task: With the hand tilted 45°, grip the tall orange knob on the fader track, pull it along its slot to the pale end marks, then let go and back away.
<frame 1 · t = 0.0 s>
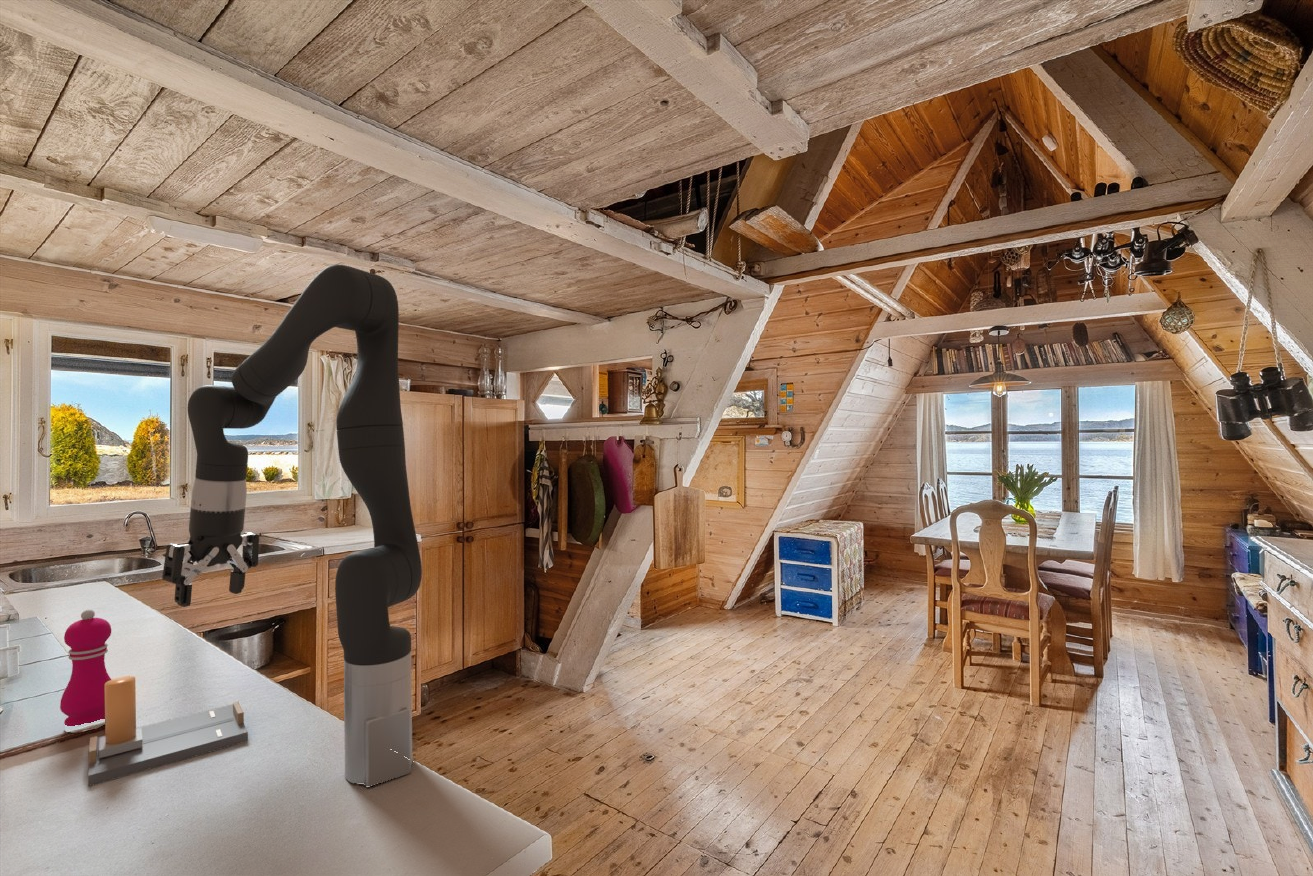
hand: (210, 598, 104), 22 cm above the countertop, tool pointing down, fingers open, 8 cm apart
fader: (120, 713, 96), point 7 cm above the countertop, slide at 0.0 cm
fader track: (170, 744, 100), on the countertop
pepper mill: (89, 726, 107), on the countertop
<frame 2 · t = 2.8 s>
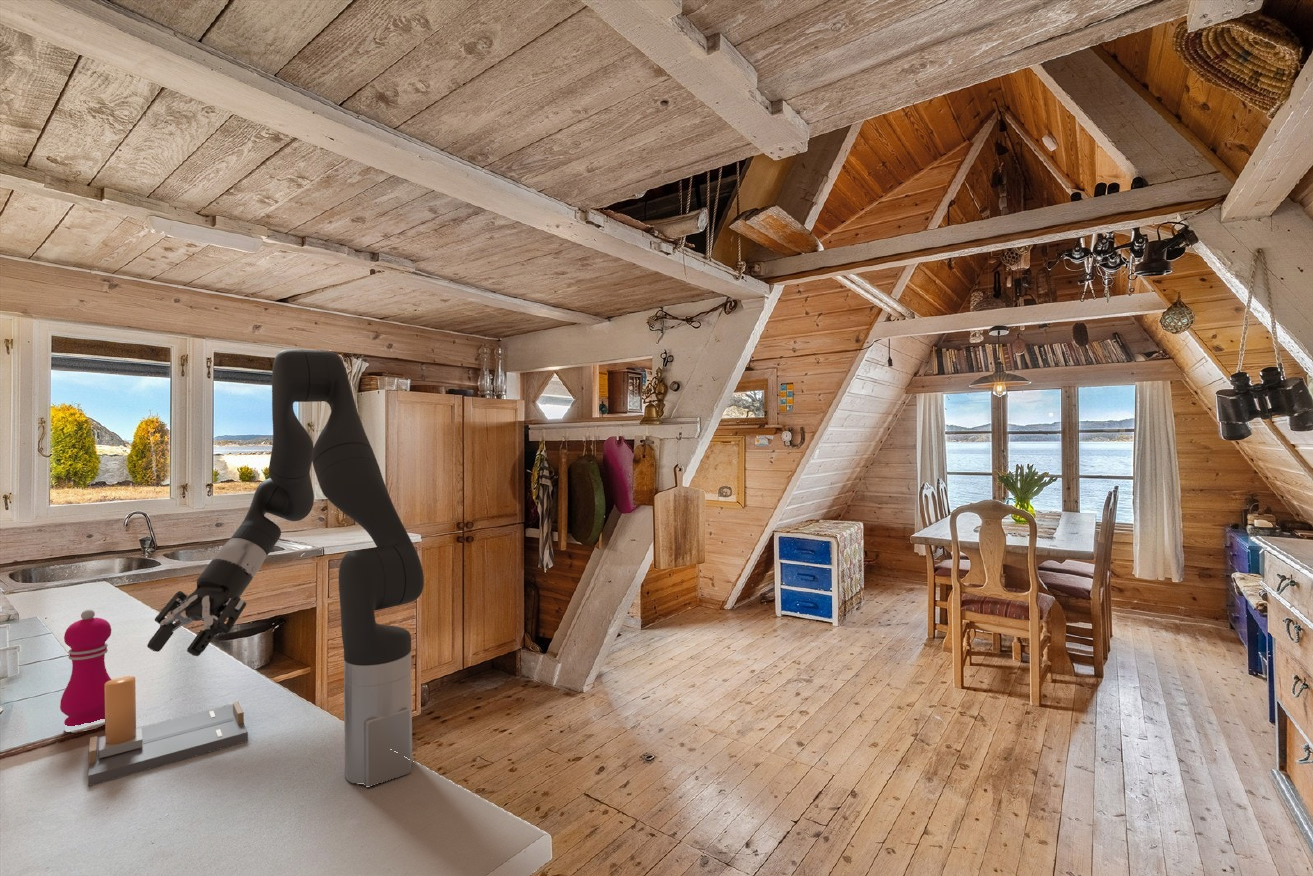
hand: (172, 651, 104), 14 cm above the countertop, tool tilted 45°, fingers open, 8 cm apart
nothing on the countertop moved.
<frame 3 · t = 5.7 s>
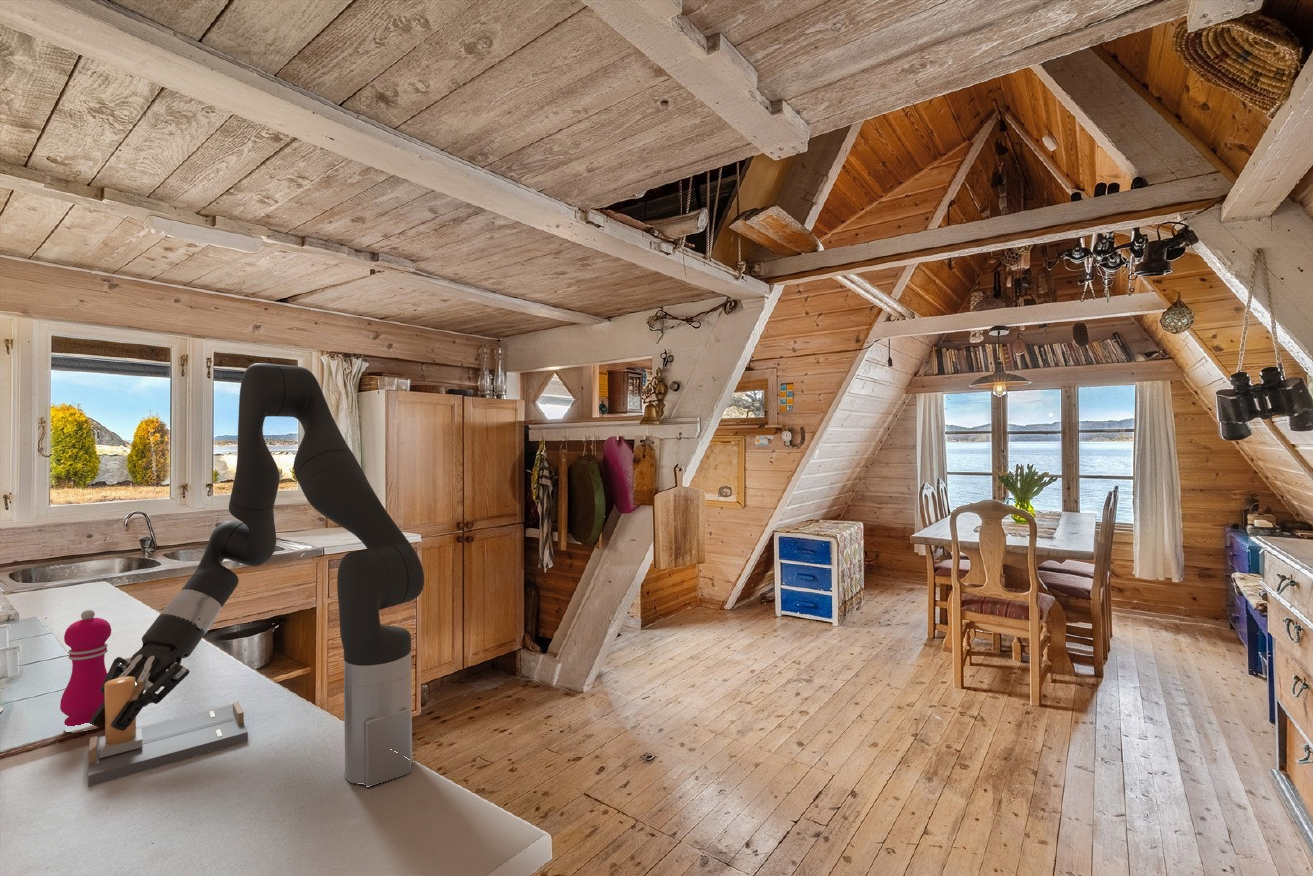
hand: (106, 726, 94), 6 cm above the countertop, tool tilted 45°, fingers closed on fader, 3 cm apart
fader: (120, 713, 96), point 7 cm above the countertop, slide at 0.0 cm, touching gripper
everything else where it was.
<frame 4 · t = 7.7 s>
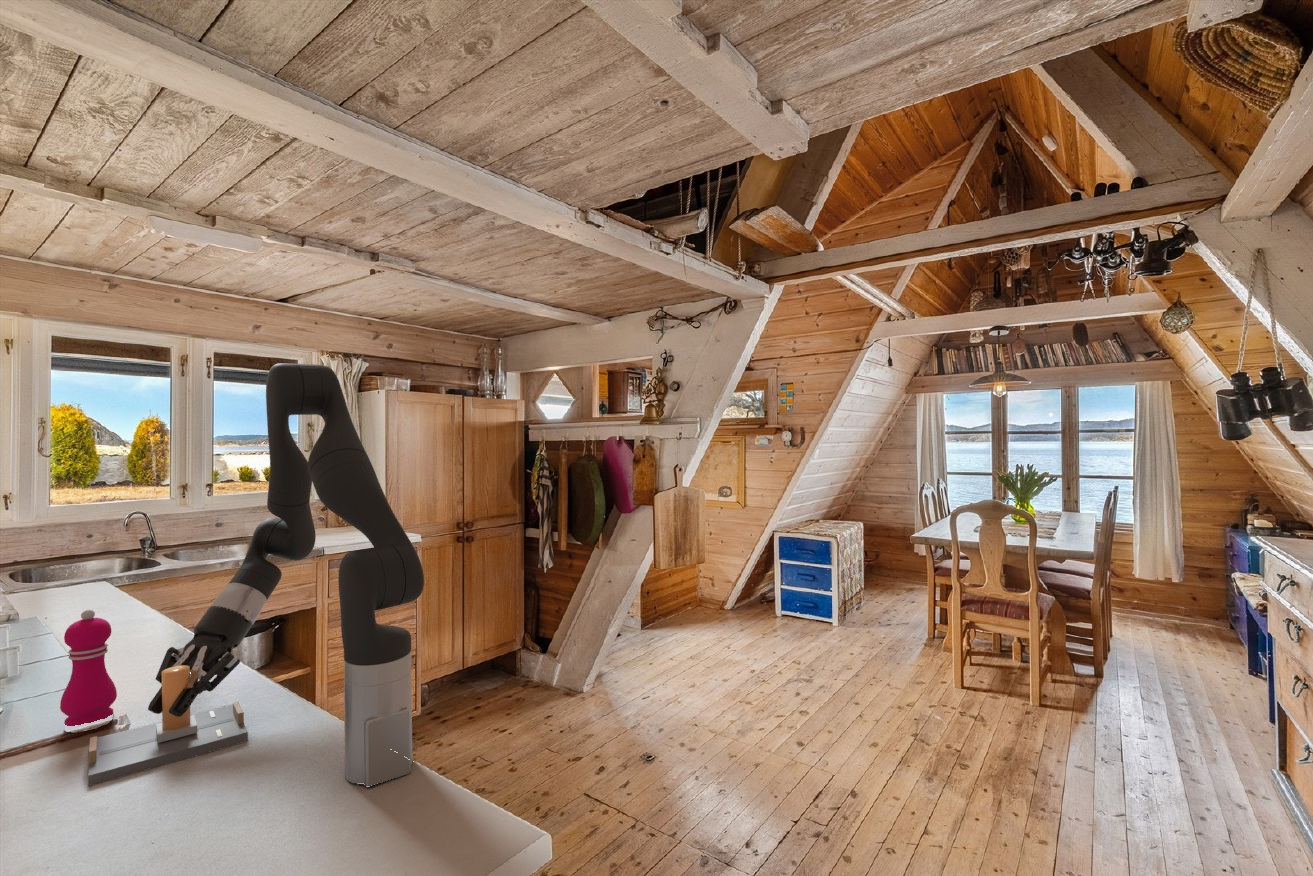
hand: (164, 712, 98), 6 cm above the countertop, tool tilted 45°, fingers closed on fader, 3 cm apart
fader: (176, 700, 100), point 7 cm above the countertop, slide at 6.8 cm, touching gripper
everything else where it was.
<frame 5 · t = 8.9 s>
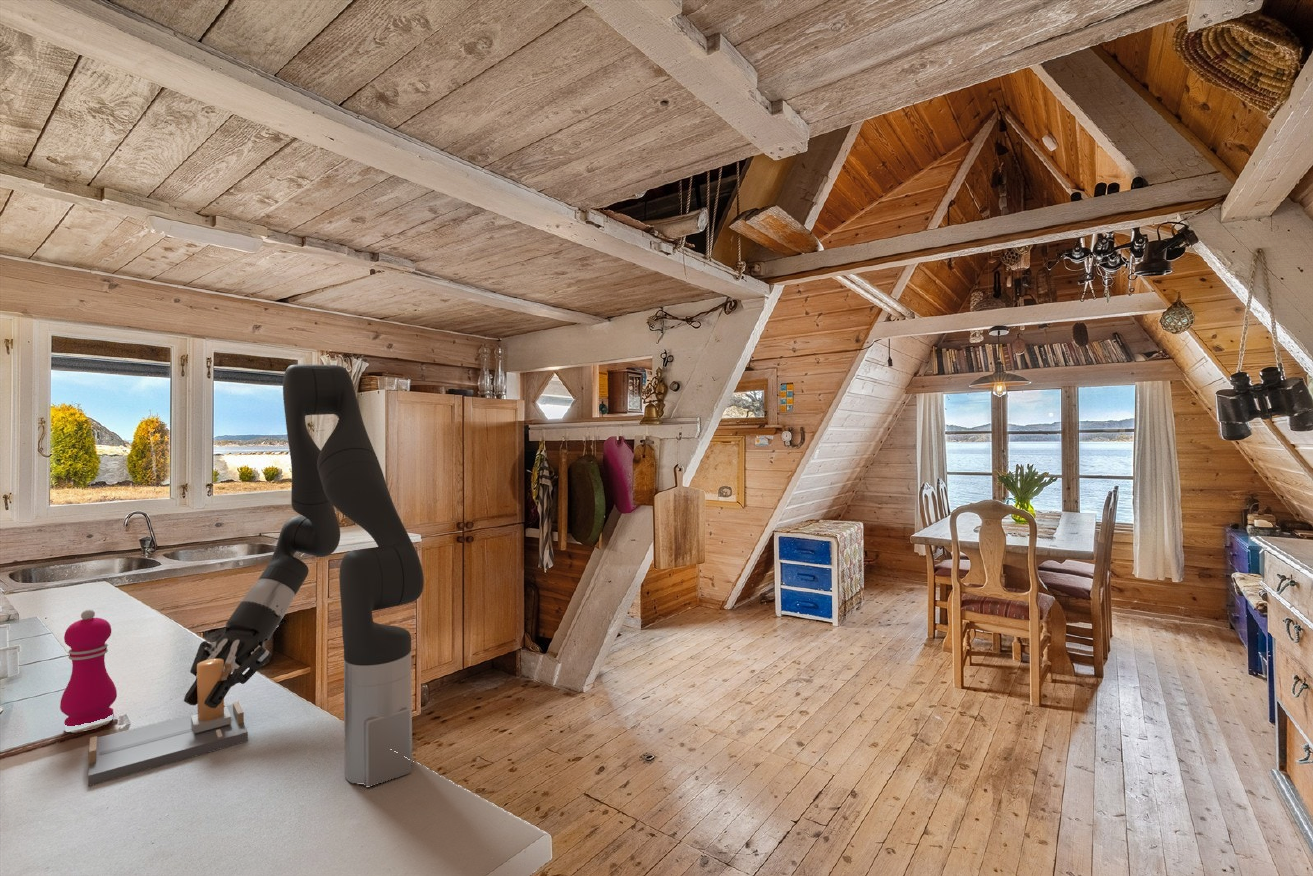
hand: (199, 704, 101), 6 cm above the countertop, tool tilted 45°, fingers closed on fader, 3 cm apart
fader: (210, 692, 103), point 7 cm above the countertop, slide at 11.4 cm, touching gripper
everything else where it was.
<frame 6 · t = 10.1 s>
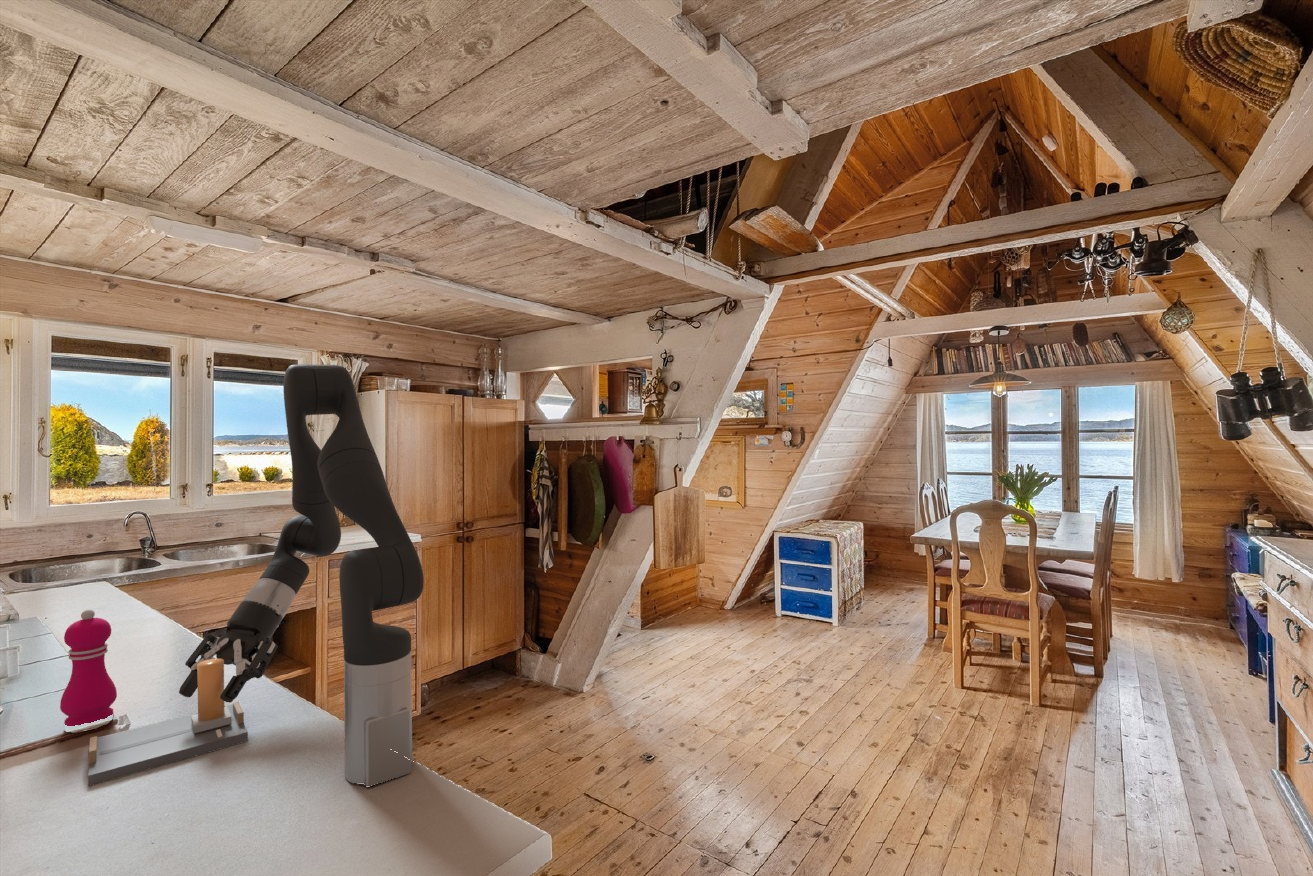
hand: (204, 698, 102), 7 cm above the countertop, tool tilted 45°, fingers open, 8 cm apart
fader: (211, 692, 103), point 7 cm above the countertop, slide at 11.4 cm
everything else where it was.
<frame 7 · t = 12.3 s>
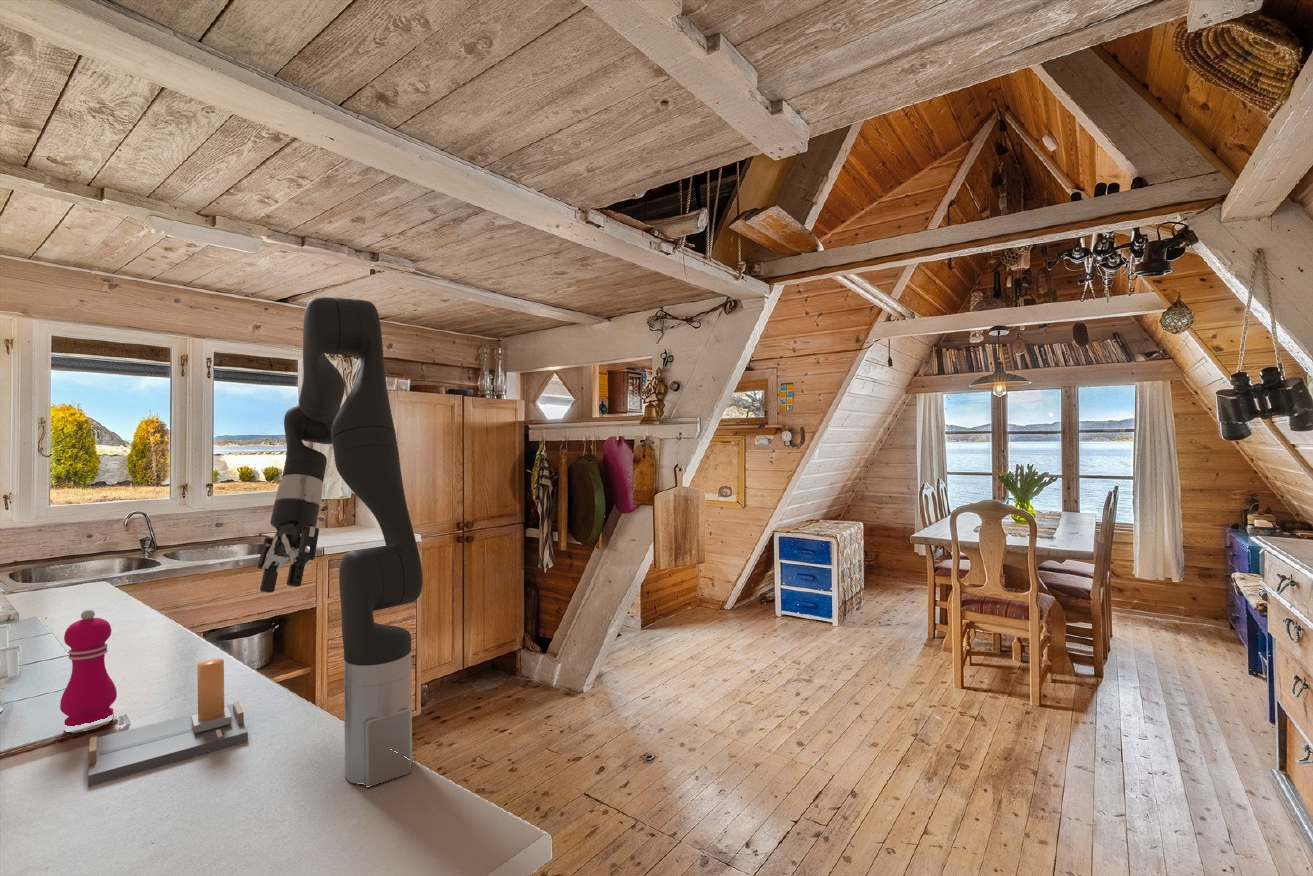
hand: (279, 589, 110), 22 cm above the countertop, tool tilted 25°, fingers open, 8 cm apart
nothing on the countertop moved.
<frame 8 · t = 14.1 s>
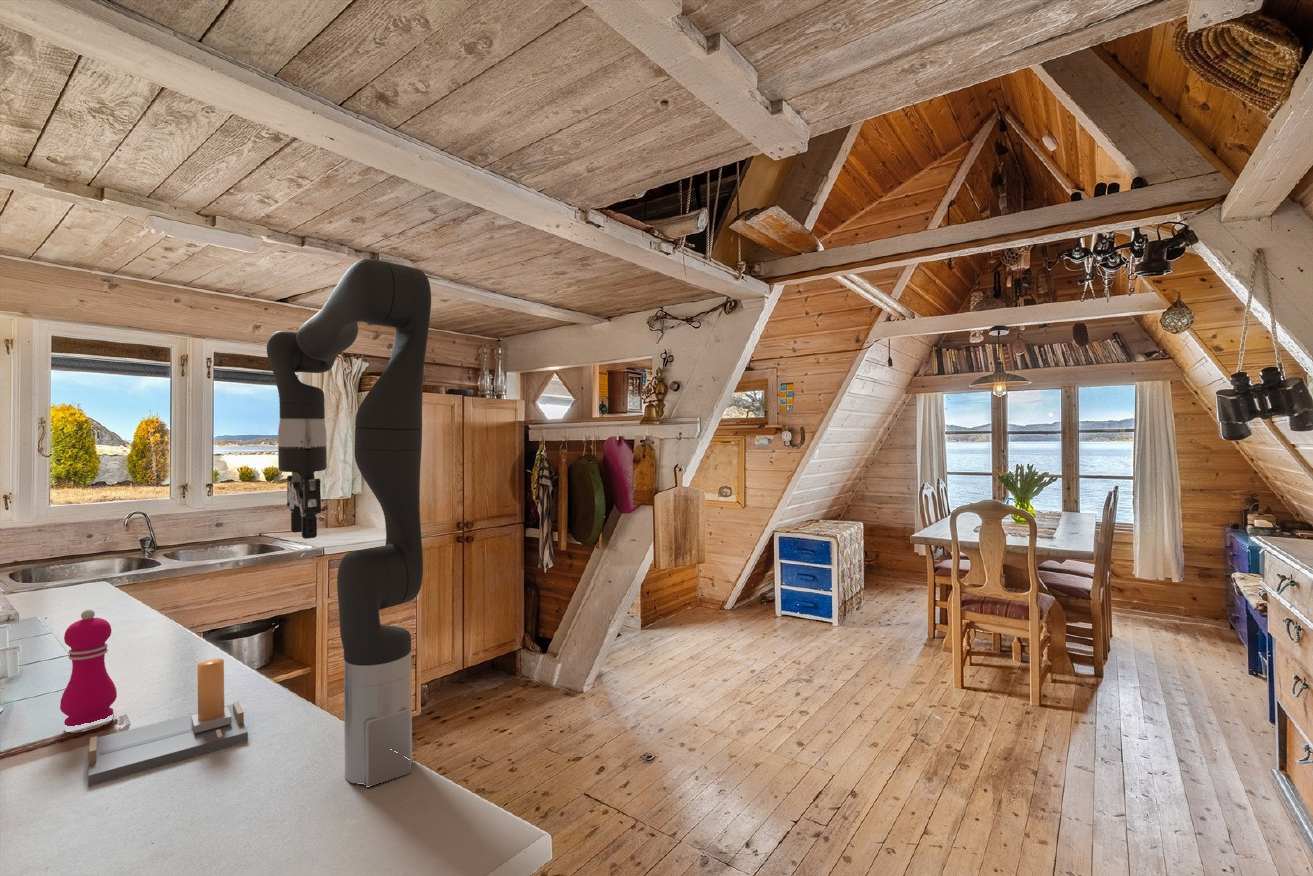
hand: (303, 535, 111), 32 cm above the countertop, tool pointing down, fingers open, 8 cm apart
nothing on the countertop moved.
at the end: fader slide at 11.4 cm; the gripper is holding nothing; pepper mill moved 0.2 cm from its start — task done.
